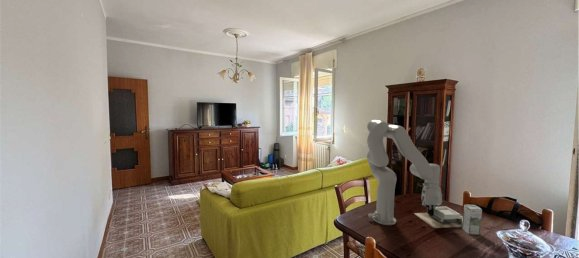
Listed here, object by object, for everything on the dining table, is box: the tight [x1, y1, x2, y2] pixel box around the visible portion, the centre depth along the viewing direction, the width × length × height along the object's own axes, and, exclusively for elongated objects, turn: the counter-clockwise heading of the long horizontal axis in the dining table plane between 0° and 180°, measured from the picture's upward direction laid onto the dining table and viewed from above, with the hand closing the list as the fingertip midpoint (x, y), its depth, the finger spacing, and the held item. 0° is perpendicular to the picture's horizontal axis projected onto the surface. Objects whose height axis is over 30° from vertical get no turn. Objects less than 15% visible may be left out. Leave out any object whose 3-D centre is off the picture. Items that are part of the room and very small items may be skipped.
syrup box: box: [461, 204, 483, 236], centre depth 128 cm, size 6×6×14 cm
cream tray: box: [413, 212, 463, 229], centre depth 143 cm, size 26×18×1 cm
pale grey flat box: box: [432, 205, 463, 224], centre depth 143 cm, size 13×14×6 cm
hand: (430, 214), depth 142 cm, fingers closed
